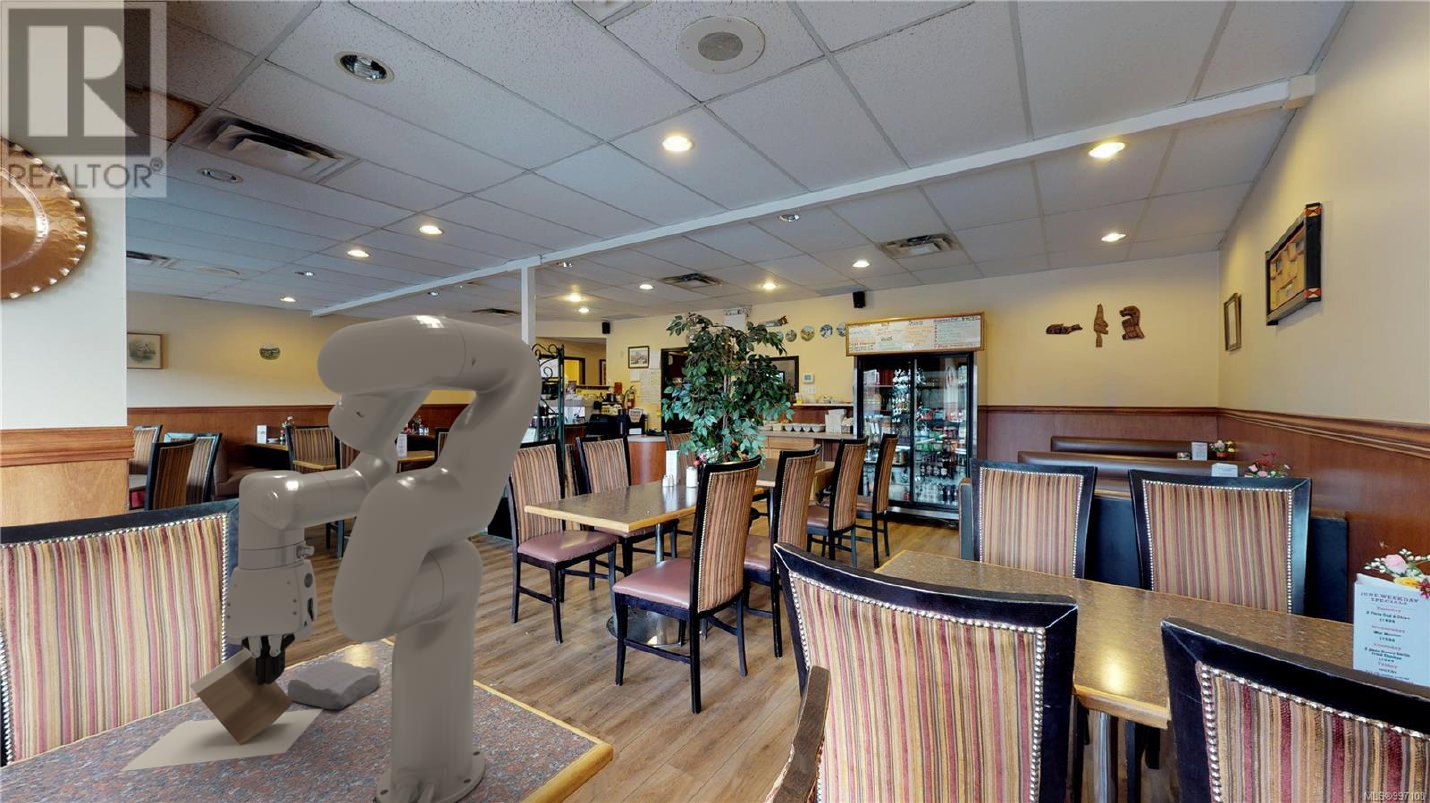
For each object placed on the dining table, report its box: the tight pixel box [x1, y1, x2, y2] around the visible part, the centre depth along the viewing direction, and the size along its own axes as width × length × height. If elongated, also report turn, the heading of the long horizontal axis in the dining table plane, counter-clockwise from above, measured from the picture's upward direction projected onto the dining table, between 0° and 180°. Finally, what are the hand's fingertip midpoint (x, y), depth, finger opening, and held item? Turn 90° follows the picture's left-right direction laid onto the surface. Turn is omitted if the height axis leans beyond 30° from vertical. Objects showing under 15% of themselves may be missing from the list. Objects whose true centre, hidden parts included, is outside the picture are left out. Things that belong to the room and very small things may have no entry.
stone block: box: [286, 660, 381, 711], centre depth 90 cm, size 12×5×10 cm
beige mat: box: [118, 708, 325, 773], centre depth 78 cm, size 11×19×1 cm, turn 102°
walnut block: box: [189, 647, 294, 745], centre depth 78 cm, size 5×5×11 cm
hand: (270, 679), depth 79 cm, fingers closed
